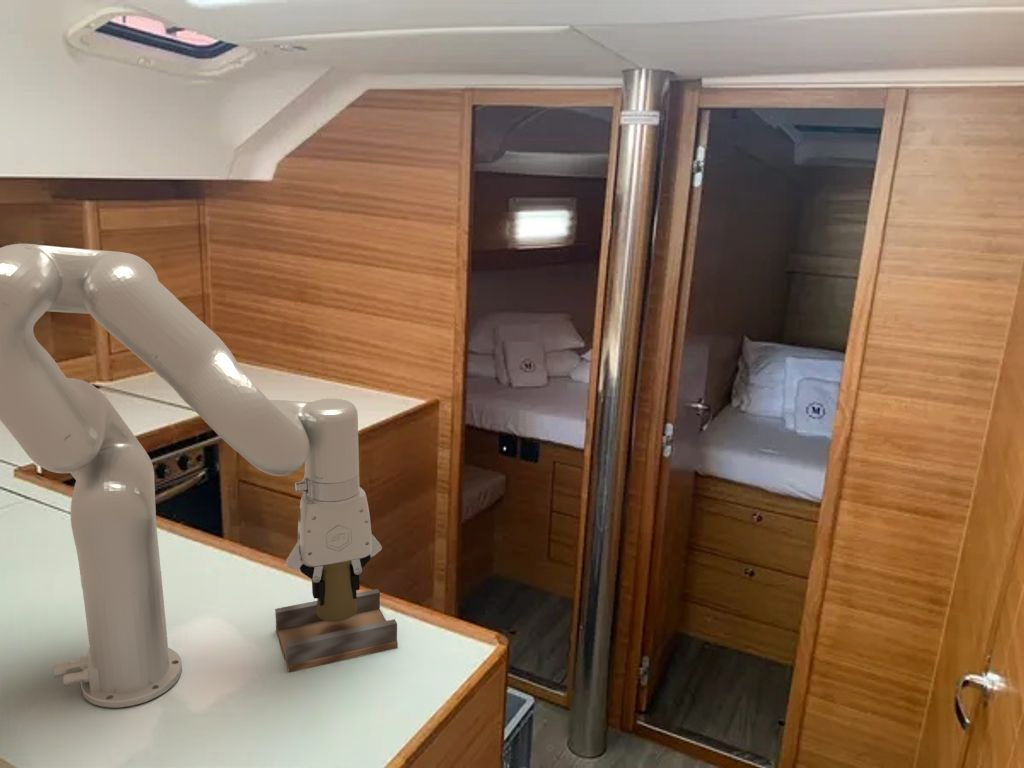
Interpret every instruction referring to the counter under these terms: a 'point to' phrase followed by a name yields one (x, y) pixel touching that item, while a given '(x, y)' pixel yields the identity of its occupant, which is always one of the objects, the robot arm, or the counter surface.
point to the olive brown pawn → (337, 593)
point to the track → (333, 633)
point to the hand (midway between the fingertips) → (336, 596)
